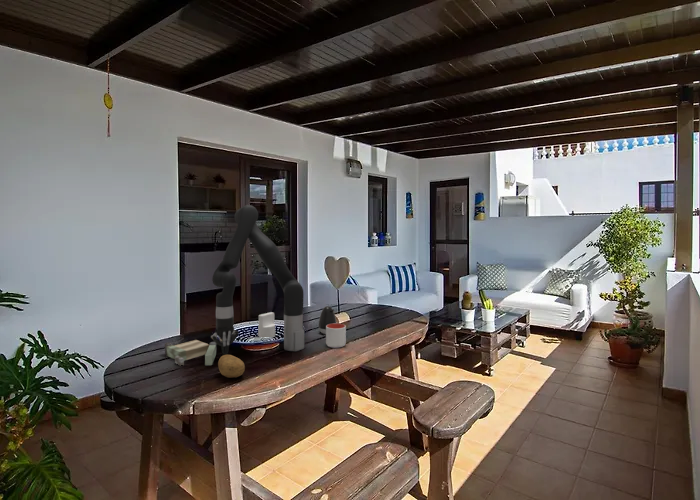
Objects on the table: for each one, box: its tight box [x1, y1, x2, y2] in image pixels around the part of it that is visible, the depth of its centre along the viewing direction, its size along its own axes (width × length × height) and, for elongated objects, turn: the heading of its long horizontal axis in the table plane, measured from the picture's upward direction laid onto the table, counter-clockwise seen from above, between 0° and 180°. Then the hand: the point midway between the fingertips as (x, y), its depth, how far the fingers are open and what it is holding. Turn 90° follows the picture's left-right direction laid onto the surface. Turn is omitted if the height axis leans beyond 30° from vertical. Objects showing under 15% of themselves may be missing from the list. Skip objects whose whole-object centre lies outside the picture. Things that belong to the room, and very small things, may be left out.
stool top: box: [164, 339, 210, 367], centre depth 186 cm, size 20×17×5 cm
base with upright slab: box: [257, 311, 276, 338], centre depth 218 cm, size 9×9×12 cm
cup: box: [325, 322, 347, 349], centre depth 203 cm, size 10×10×10 cm
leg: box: [204, 341, 217, 366], centre depth 182 cm, size 17×3×5 cm, turn 12°
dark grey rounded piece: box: [318, 305, 337, 335], centre depth 223 cm, size 10×10×15 cm
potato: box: [217, 354, 246, 379], centre depth 163 cm, size 10×14×8 cm
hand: (225, 353), depth 180 cm, fingers closed
